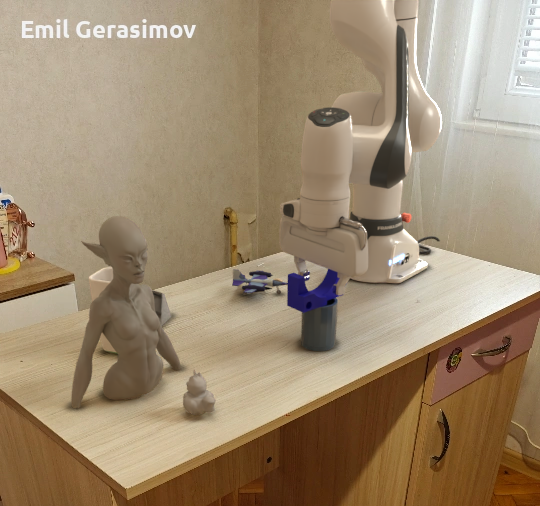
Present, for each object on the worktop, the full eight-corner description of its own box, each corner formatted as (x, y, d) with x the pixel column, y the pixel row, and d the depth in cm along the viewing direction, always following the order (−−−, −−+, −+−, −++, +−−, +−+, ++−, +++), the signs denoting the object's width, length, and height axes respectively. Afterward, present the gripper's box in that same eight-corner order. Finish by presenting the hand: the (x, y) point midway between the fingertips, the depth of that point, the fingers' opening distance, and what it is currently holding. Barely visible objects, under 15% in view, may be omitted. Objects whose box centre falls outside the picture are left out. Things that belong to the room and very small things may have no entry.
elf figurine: (97, 425, 117) (68, 239, 100) (67, 403, 123) (34, 224, 105) (205, 381, 130) (196, 209, 112) (173, 363, 135) (160, 197, 118)
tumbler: (318, 333, 147) (320, 291, 142) (342, 344, 143) (345, 301, 137) (293, 342, 143) (294, 299, 138) (317, 354, 139) (319, 310, 134)
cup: (129, 359, 137) (120, 283, 128) (95, 353, 139) (84, 278, 130) (147, 344, 142) (139, 270, 134) (115, 339, 144) (105, 265, 136)
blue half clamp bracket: (303, 312, 133) (304, 281, 129) (287, 305, 135) (287, 274, 132) (349, 297, 139) (351, 266, 135) (332, 290, 142) (334, 260, 138)
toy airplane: (303, 295, 163) (303, 280, 161) (249, 308, 158) (249, 292, 155) (273, 278, 172) (273, 263, 170) (221, 289, 167) (221, 274, 165)
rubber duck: (198, 400, 124) (195, 358, 119) (226, 413, 120) (224, 370, 116) (175, 413, 120) (171, 369, 116) (203, 426, 117) (200, 382, 112)
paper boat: (188, 312, 152) (160, 315, 145) (173, 334, 156) (144, 337, 148) (155, 271, 154) (125, 272, 147) (141, 293, 158) (111, 295, 151)
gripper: (379, 221, 123) (372, 298, 131) (299, 197, 136) (297, 269, 144) (354, 228, 120) (348, 307, 128) (273, 203, 133) (273, 276, 141)
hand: (320, 286), depth 136 cm, fingers open, 8 cm apart
